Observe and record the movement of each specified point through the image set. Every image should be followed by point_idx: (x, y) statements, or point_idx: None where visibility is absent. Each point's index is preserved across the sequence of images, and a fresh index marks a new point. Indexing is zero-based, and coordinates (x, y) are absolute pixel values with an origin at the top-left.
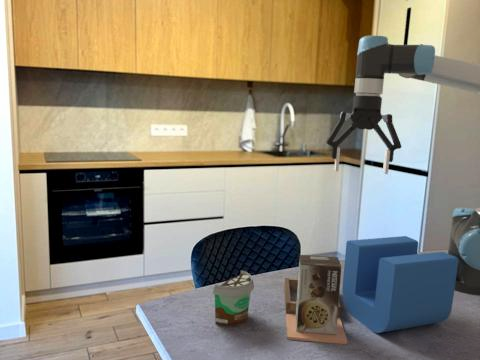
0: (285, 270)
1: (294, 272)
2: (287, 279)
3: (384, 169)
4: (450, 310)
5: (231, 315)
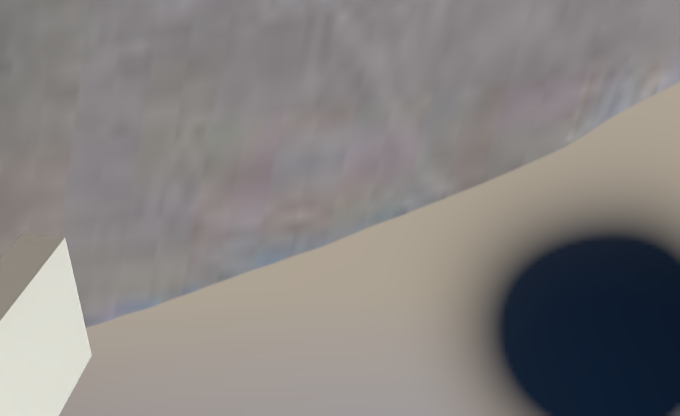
0: (673, 75)
1: (636, 56)
2: None
3: (48, 330)
4: None
5: None
